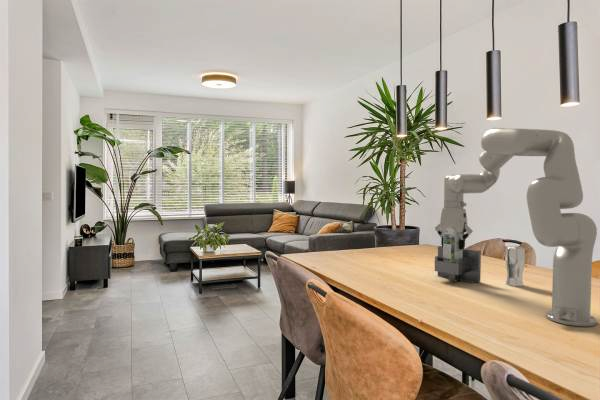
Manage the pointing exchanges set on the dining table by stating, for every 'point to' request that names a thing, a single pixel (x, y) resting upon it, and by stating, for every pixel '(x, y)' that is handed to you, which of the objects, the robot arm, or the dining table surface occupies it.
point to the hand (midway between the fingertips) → (452, 247)
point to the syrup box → (451, 246)
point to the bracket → (460, 266)
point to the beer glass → (514, 265)
